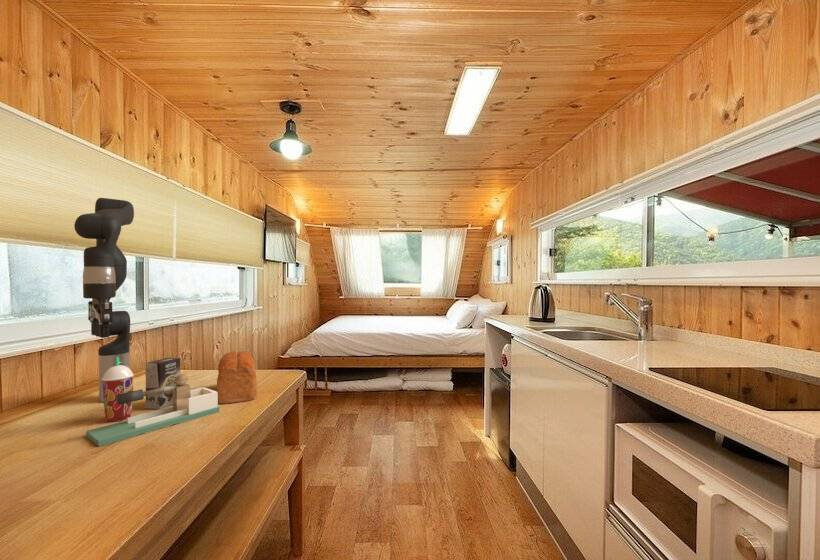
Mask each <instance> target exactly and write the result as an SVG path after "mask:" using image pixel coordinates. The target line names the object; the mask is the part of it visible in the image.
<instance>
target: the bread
mask: <svg viewBox="0 0 820 560" xmlns="http://www.w3.org/2000/svg"><path fill="white" fill-rule="evenodd" d="M217 371H218V372H217V379H216V390H215V391H216V392H218V404H219V405H221V404H233V403H234V404H235V403H241V402H246V401H247V402H248V401H251V400H255V399H256V398H257V396H258V381H257V380H258V379H257V372H256V366H255V360H254V357H253V355H252V354H251V353H249V352H247V351H245V350H244V351H243V350H242V351H231V352H227V353H225V354H224V355H223V356H222V357H221V358H220V360H219V364H218V368H217Z"/></svg>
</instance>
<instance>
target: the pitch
mask: <svg viewBox="0 0 820 560" xmlns="http://www.w3.org/2000/svg"><path fill="white" fill-rule="evenodd" d="M197 395H200V396H197ZM195 396H196V397H195ZM219 412H220V407H219V402H218V392H216V390H213V389H210V388H207V387H198V388H194V389H190V398H188V410H187V409H182V410H179V411H175V412H174V411H173V405H171V406H167V407H165V408H162V409H155V410H153V411H149V412H143V413H140V414H136V415H132V416H130V417H128V418H127V419H125V420H122V421H118V422H114V423H111V424H108V425H107V424H106V425H103V426H100V427H96V428H93V429H92V428H91V429H89V430H86V431H85V432H86V437H87V438H88V439H90V441H92V442H93V443H94V444H95V445H96V446H97V445H98V446H100V447H103V445H104V446H106V445H111V444H113V443H116V442H121V441H123V439H124V440H127V439H126V438H128V439H130V437H131V438H133V437H132V436H134V437H137V436H136V435H138V436H140V435H139V434H141V435H143V434H142V433H145V434H147V433H146V432H148V433H150V432H149V431H152V430H155V431H157V430H156V429H158V430H160V429H159V428H162V427H165V428H167V427H166V426H169V425H172V426H174V425H173V424H176V425H178V424H177V423H179V424H182V423H185V422H189V421H193V420H196V419H199V418H203V417H206V416H210V415H213V414H217V413H219ZM181 422H182V423H181ZM169 427H170V426H169ZM162 429H163V428H162ZM152 432H153V431H152ZM120 440H121V441H120ZM98 446H97V447H98Z"/></svg>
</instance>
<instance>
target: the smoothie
mask: <svg viewBox="0 0 820 560" xmlns="http://www.w3.org/2000/svg"><path fill="white" fill-rule="evenodd" d="M101 380H102V388H103V399H104V402H103V407H104V417H105V418H106V419H107V420H106V421H108V422H110V423H111V422H112V423H117V422H122V421H125V420H127V418H128V417H131V414H132V413H133V402H129V403H125V404H120V405H117V402H116V396H117V394H122V393H127V392H132V391H134V383H135V382H134V380H135V373H134V372H133V371H132V369H131V368H128V367H126V366H123V365H119V357H117V365H116V366H113V367H111V368H110V369H108V370H107V371H106V373H105V374H104V376H103V378H102V379H101Z"/></svg>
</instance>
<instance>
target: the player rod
mask: <svg viewBox="0 0 820 560" xmlns="http://www.w3.org/2000/svg"><path fill="white" fill-rule="evenodd" d="M188 380H189V377H188V375H187V374H184V373H180V375H178V376H177V377H176V378H175V383H176V384H177V385H173V386H168V387H163V388H159V389H154V390H149V391H146V390H144V389H142V388H141V389H137V390H133V391H132V392H127V393H122V394H117V396H116V402H117V405H120V404H125V403H129V402H132V403H133V402H138V401H142V400H144V397H146V396H148V395H152V394H157V393H161V392H166V391H170V390H173V404H172V406H173V411H174V412H175V411H179V410H182V409H187V410H188V398H190V390H191V385H190V384H189V383H187V382H188ZM186 383H187V384H186Z"/></svg>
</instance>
